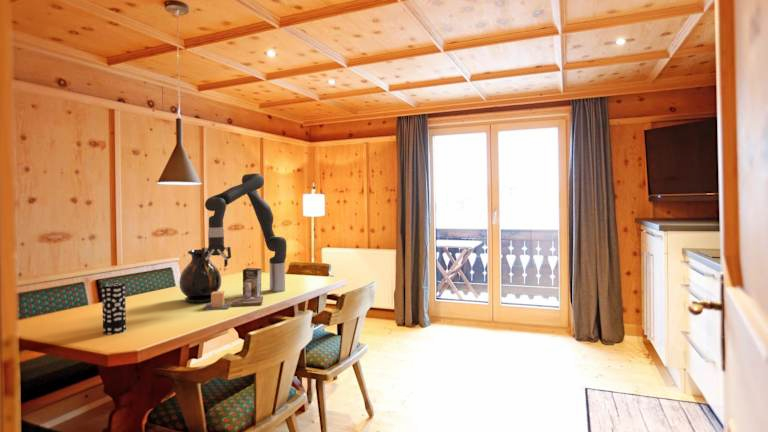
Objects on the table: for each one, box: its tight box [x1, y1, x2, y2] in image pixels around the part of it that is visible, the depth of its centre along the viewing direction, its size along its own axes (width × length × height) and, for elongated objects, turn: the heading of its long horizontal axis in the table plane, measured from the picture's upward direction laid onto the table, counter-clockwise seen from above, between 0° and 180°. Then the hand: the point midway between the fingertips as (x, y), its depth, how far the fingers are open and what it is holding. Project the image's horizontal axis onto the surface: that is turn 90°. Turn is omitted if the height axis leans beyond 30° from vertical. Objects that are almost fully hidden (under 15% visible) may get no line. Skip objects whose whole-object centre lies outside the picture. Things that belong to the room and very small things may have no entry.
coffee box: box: [242, 267, 262, 297], centre depth 254 cm, size 9×6×16 cm
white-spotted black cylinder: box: [101, 282, 127, 335], centre depth 186 cm, size 8×8×20 cm
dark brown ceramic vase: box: [178, 248, 222, 304], centre depth 243 cm, size 22×22×28 cm
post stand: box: [231, 283, 264, 308], centre depth 238 cm, size 15×15×10 cm
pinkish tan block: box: [211, 290, 225, 307], centre depth 229 cm, size 6×6×7 cm
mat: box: [202, 302, 232, 311], centre depth 229 cm, size 12×12×1 cm
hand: (216, 267), depth 228 cm, fingers open, 8 cm apart
